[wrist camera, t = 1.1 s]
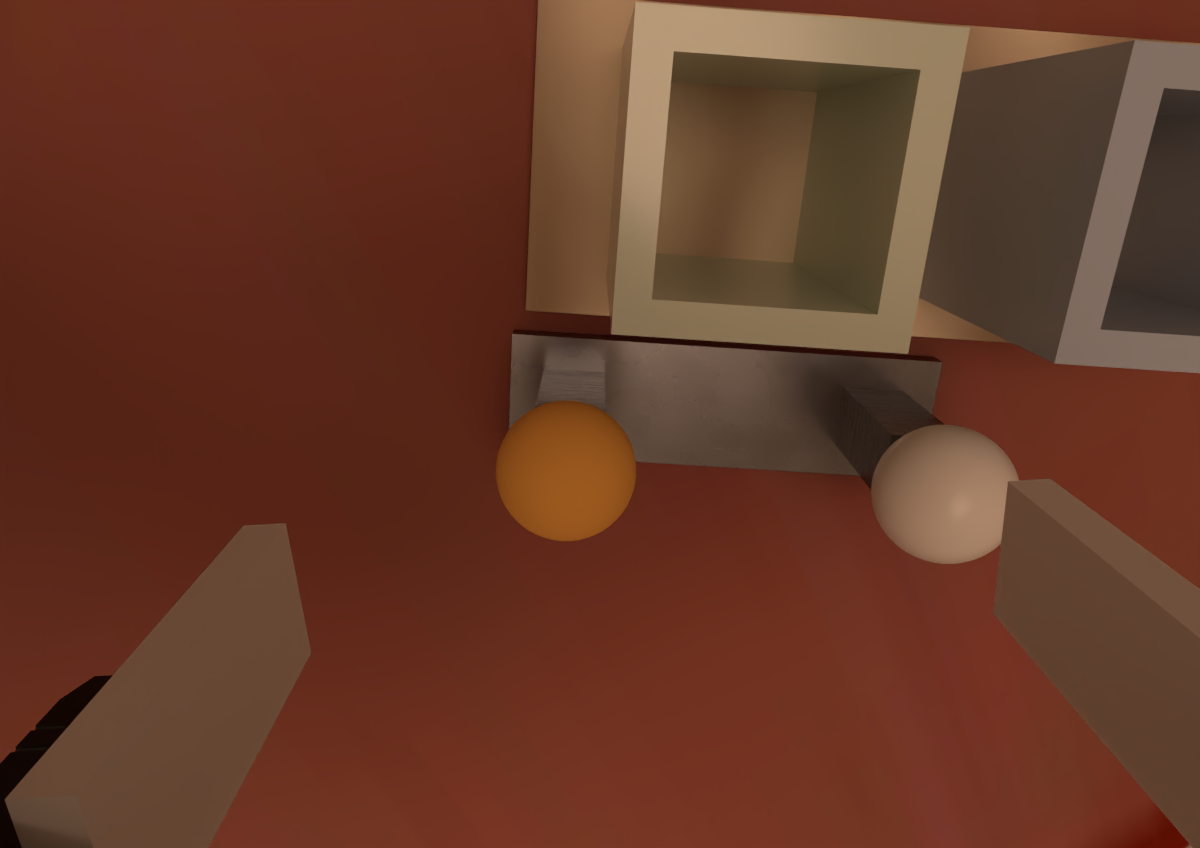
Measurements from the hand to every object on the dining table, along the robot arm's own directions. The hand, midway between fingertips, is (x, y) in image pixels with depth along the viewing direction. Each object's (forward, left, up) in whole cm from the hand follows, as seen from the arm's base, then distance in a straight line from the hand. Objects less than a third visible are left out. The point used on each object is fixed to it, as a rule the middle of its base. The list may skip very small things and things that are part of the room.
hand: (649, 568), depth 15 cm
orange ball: (-2, -3, -11) cm, 11 cm away
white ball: (+10, -3, -11) cm, 15 cm away
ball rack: (+4, -3, -19) cm, 20 cm away
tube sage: (+3, +6, -19) cm, 21 cm away
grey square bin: (+15, +6, -19) cm, 25 cm away
